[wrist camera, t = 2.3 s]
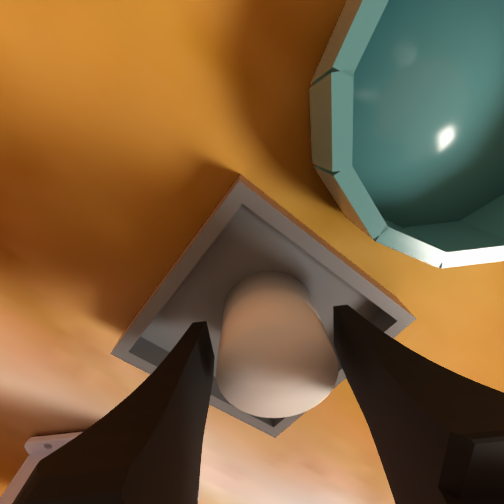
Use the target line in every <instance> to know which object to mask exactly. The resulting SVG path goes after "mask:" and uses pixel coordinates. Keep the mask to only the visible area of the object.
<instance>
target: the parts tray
mask: <svg viewBox="0 0 504 504" xmlns="http://www.w3.org/2000/svg"><path fill="white" fill-rule="evenodd" d="M263 271H278V272H283V273H286V274H289V275H291V276H294V277H295V278H297V279H298V280H300V281H301V282H302V283H303V284H304V285H305V286H306V287H307V289H308V290H309V292H310V294H311V296H312V299H313V301H314V303H315V306H316V308H317V311H318V313H319V316H320V318H321V320H322V323H323V325H324V328H325V330H326V333H327V335H328V338H329V340H330V342H331V345H332V347H333V350H334V352H335V355H336V357H337V361H338V367H339V371H338V377H337V381H336V384H335V386H334V388H335V387H336V386H337V385H338V384H340V383H341V382H342V381H343V380H344V379H346V376H345V373H344V371H343V369H342V367H341V364H340V361H339V359H338V356H337V352H336V349H335V346H334V328H333V306H339V305H349V306H350V307H351V308H353V309H354V310H355V311H356V312H358V313H359V314H360V315H361V316H363V317H364V318H365V319H367V320H368V321H369V322H370V323H372V324H373V325H374V326H376V327H377V328H379V329H380V330H381V331H383V332H384V333H386V334H387V335H389V336H390V337H391V338H394V337H395V336H397V335H398V334H399V333H400V332H401V331H402V330H404V329H405V328H406V327H407V326H408V325H410V324H411V323H412V322H413V321H414V320H416V318H415V317H414V316H413V315H412V314H411V312H410V311H409V310H408V309H407V308H406V307H405V306H404V305H403V304H402V303H401V302H400V301H399V300H398V299H397V297H395V296H394V295H393V294H392V293H390V292H389V291H388V290H386V289H385V288H384V287H383V286H381V285H380V284H379V283H378V282H376V281H375V280H374V279H372V278H371V277H370V276H369V275H367V274H366V273H365V272H364V271H362V270H361V269H360V268H359V267H357V266H356V265H355V264H353V263H352V262H351V261H350V260H348V259H347V258H346V257H345V256H343V255H342V254H341V253H340V252H338V251H337V250H336V249H334V248H333V247H332V246H331V245H329V244H328V243H327V242H326V241H324V240H323V239H322V238H321V237H319V236H318V235H317V234H315V233H314V232H313V231H312V230H310V229H309V228H308V227H307V226H305V225H304V224H303V223H302V222H300V221H299V220H298V219H296V218H295V217H294V216H293V215H291V214H290V213H289V212H288V211H286V210H285V209H284V208H283V207H281V206H280V205H279V204H277V203H276V202H275V201H274V200H272V199H271V198H270V197H269V196H267V195H266V194H265V193H264V192H262V191H261V190H260V189H258V188H257V187H256V186H255V185H253V184H252V183H251V182H250V181H248V180H247V179H246V178H245V177H243V176H242V175H241V174H240V175H239V177H238V178H237V179H236V181H235V182H234V183H233V185H232V186H231V187H230V189H229V190H228V191H227V193H226V194H225V195H224V197H223V198H222V200H221V201H220V202H219V204H218V205H217V206H216V208H215V209H214V210H213V212H212V213H211V214H210V216H209V217H208V218H207V220H206V221H205V223H204V224H203V225H202V227H201V228H200V229H199V231H198V232H197V233H196V235H195V236H194V237H193V239H192V240H191V241H190V243H189V244H188V246H187V247H186V248H185V250H184V251H183V252H182V254H181V255H180V256H179V258H178V259H177V260H176V262H175V263H174V264H173V266H172V267H171V269H170V270H169V271H168V273H167V274H166V275H165V277H164V278H163V279H162V281H161V282H160V283H159V285H158V286H157V287H156V289H155V290H154V291H153V293H152V294H151V296H150V297H149V298H148V300H147V301H146V302H145V304H144V305H143V306H142V308H141V309H140V310H139V312H138V313H137V314H136V316H135V317H134V319H133V320H132V321H131V323H130V324H129V325H128V327H127V328H126V329H125V331H124V333H123V334H122V336H121V338H120V339H119V341H118V342H117V344H116V346H115V347H114V349H113V350H112V352H111V354H112V355H114V356H116V357H118V358H120V359H122V360H123V361H125V362H127V363H129V364H131V365H133V366H135V367H137V368H139V369H141V370H143V371H145V372H147V373H149V374H152V373H153V371H154V370H155V369H156V368H157V367H158V366H159V365H160V363H161V362H162V361H163V360H164V359H165V358H166V356H167V355H168V354H169V353H170V351H171V350H172V349H173V348H174V346H175V345H176V344H177V343H178V341H179V340H180V339H181V337H182V336H183V335H184V333H185V332H186V331H187V329H188V328H189V327H190V325H191V324H192V323H194V322H202V321H207V326H208V330H209V335H210V339H211V343H212V348H213V352H214V357H215V360H214V377H213V384H212V390H211V396H210V401H209V404H210V405H212V406H214V407H216V408H218V409H220V410H222V411H224V412H225V413H227V414H229V415H231V416H233V417H235V418H237V419H239V420H241V421H243V422H245V423H247V424H249V425H251V426H253V427H255V428H257V429H259V430H261V431H263V432H265V433H267V434H269V435H271V436H273V437H274V438H276V437H277V436H278V435H279V434H280V433H281V432H283V431H284V430H285V429H286V428H287V427H289V426H290V425H291V424H292V423H293V422H295V421H296V420H297V419H298V418H299V417H300V416H302V415H303V414H304V413H305V412H306V411H305V412H303V413H300V414H297V415H294V416H290V417H283V418H265V417H258V416H254V415H251V414H248V413H245V412H243V411H241V410H239V409H237V408H236V407H234V406H233V405H232V404H230V403H229V402H228V401H227V400H226V399H225V397H224V396H223V395H222V393H221V391H220V390H219V387H218V384H217V380H216V368H217V360H218V352H219V344H220V336H221V328H222V320H223V312H224V305H225V300H226V298H227V295H228V294H229V292H230V290H231V289H232V288H233V287H234V286H235V285H236V284H237V283H238V282H239V281H240V280H242V279H243V278H245V277H247V276H249V275H251V274H254V273H258V272H263ZM334 388H333V389H334Z"/></svg>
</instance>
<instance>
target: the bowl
mask: <svg viewBox="0 0 504 504" xmlns="http://www.w3.org/2000/svg"><path fill="white" fill-rule="evenodd" d="M310 85H312V87H311V88H309V96H310V133H311V148H312V163H313V164H315V165H314V166H313V167H314V169H315V170H316V172H317V173H318V175H319V176H320V178H321V180H322V181H323V183H324V184H325V186H326V187H327V189H328V190H329V192H330V194H331V195H332V197H333V198H334V200H335V201H336V203H337V204H338V206H339V208H340V209H341V211H342V212H343V214H344V215H345V217H346V218H348V219H349V220H350V221H351V222H352V223H354V224H355V225H356V226H357V227H358V228H360V229H361V230H362V231H363V232H365V233H366V234H367V235H368V236H369V237H371V238H372V239H373V240H374V241H376V242H378V243H380V244H383V245H385V246H387V247H390V248H392V249H395V250H397V251H399V252H402V253H404V254H406V255H409V256H411V257H413V258H416V259H418V260H421V261H423V262H425V263H428V264H430V265H432V266H435V267H437V268H438V267H440V268H448V267H457V266H465V265H473V264H482V263H490V262H499V261H504V0H346V3H345V5H344V7H343V10H342V12H341V14H340V17H339V19H338V21H337V23H336V26H335V28H334V30H333V33H332V35H331V37H330V40H329V42H328V44H327V46H326V49H325V51H324V53H323V56H322V58H321V60H320V63H319V65H318V67H317V69H316V72H315V74H314V76H313V79H312V81H311V83H310Z"/></svg>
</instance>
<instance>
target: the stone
mask: <svg viewBox="0 0 504 504" xmlns="http://www.w3.org/2000/svg"><path fill="white" fill-rule="evenodd" d="M338 371H339V367H338V361H337V357H336V355H335V352H334V350H333V347H332V345H331V342H330V340H329V338H328V335H327V333H326V330H325V328H324V325H323V323H322V320H321V318H320V316H319V313H318V311H317V308H316V306H315V303H314V301H313V299H312V296H311V294H310V292H309V290H308V289H307V287H306V286H305V285H304V284H303V283H302V282H301V281H300V280H298V279H297V278H295V277H294V276H291V275H289V274H286V273H283V272H278V271H263V272H258V273H254V274H251V275H249V276H247V277H245V278H243V279H242V280H240V281H239V282H238V283H237V284H236V285H235V286H234V287H233V288H232V289H231V290H230V292H229V294H228V295H227V298H226V300H225V305H224V312H223V320H222V328H221V336H220V344H219V352H218V360H217V368H216V380H217V384H218V387H219V390H220V391H221V393H222V395H223V396H224V397H225V399H226V400H227V401H228V402H229V403H230V404H232V405H233V406H234V407H236V408H237V409H239V410H241V411H243V412H245V413H248V414H251V415H254V416H258V417H265V418H283V417H290V416H294V415H297V414H300V413H303V412H305V411H308V410H310V409H312V408H313V407H315V406H317V405H318V404H319V403H321V402H322V401H323V400H324V399H325V398H326V397H327V396H328V395H329V394H330V392H331V391H332V389H333V388H334V386H335V384H336V381H337V377H338Z"/></svg>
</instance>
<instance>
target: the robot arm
mask: <svg viewBox="0 0 504 504" xmlns="http://www.w3.org/2000/svg"><path fill="white" fill-rule="evenodd" d="M333 328H334V346H335V349H336V352H337V356H338V359H339V361H340V364H341V367H342V369H343V371H344V373H345V376H346V378H347V380H348V382H349V384H350V386H351V388H352V391H353V393H354V395H355V397H356V399H357V401H358V403H359V405H360V408H361V410H362V412H363V414H364V416H365V419H366V421H367V423H368V426H369V428H370V431H371V434H372V437H373V439H374V442H375V445H376V448H377V450H378V453H379V456H380V459H381V462H382V465H383V468H384V471H385V473H386V476H387V479H388V482H389V485H390V488H391V491H392V494H393V497H394V500H395V503H396V504H504V393H503V392H500V391H498V390H495V389H493V388H490V387H487V386H485V385H482V384H480V383H477V382H475V381H473V380H470V379H468V378H466V377H463V376H461V375H459V374H457V373H455V372H452V371H450V370H448V369H446V368H444V367H442V366H440V365H438V364H436V363H434V362H432V361H430V360H428V359H426V358H425V357H423V356H421V355H419V354H417V353H416V352H414V351H412V350H410V349H409V348H407V347H405V346H404V345H402V344H401V343H399V342H398V341H396V340H395V339H393V338H391V337H390V336H389V335H387V334H386V333H384V332H383V331H381V330H380V329H379V328H377V327H376V326H374V325H373V324H372V323H370V322H369V321H368V320H367V319H365V318H364V317H363V316H361V315H360V314H359V313H358V312H356V311H355V310H354V309H353V308H351V307H350V306H349V305H339V306H333ZM214 360H215V357H214V352H213V348H212V343H211V339H210V335H209V330H208V326H207V321H202V322H194V323H192V324H191V325H190V327H189V328H188V329H187V331H186V332H185V333H184V335H183V336H182V337H181V339H180V340H179V341H178V343H177V344H176V345H175V346H174V348H173V349H172V350H171V351H170V353H169V354H168V355H167V356H166V358H165V359H164V360H163V361H162V362H161V363H160V365H159V366H158V367H157V368H156V369H155V370H154V371H153V373H152V374H151V375H150V376H149V377H148V378H147V379H146V380H145V381H144V382H143V383H142V384H141V385H140V386H139V387H138V388H137V389H136V390H135V391H134V392H132V393H131V394H130V395H129V396H128V397H127V398H126V399H124V400H123V401H122V402H121V403H120V404H119V405H117V406H116V407H115V408H114V409H113V410H111V411H110V412H109V413H108V414H107V415H105V416H104V417H103V418H101V419H100V420H99V421H97V422H96V423H95V424H94V425H92V426H91V427H89V428H88V429H87V430H85V431H84V432H75V433H66V434H56V435H47V436H38V437H31V438H29V439H28V440H27V442H26V443H25V445H24V447H25V450H26V451H27V453H28V454H29V456H28V457H27V459H26V460H25V461H24V463H23V464H22V466H21V467H20V469H19V470H18V472H17V473H16V475H15V476H14V478H13V479H12V481H11V482H10V484H9V485H8V487H7V488H6V490H5V491H4V493H3V494H2V495H1V497H0V504H198V500H199V491H198V490H199V476H200V464H201V453H202V442H203V435H204V429H205V423H206V418H207V412H208V407H209V401H210V396H211V390H212V384H213V377H214Z"/></svg>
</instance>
